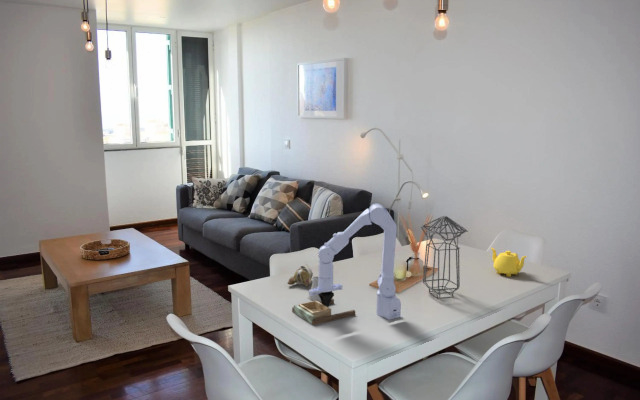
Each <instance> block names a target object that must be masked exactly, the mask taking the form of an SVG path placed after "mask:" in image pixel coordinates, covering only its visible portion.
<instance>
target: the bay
mask: <svg viewBox="0 0 640 400" xmlns="http://www.w3.org/2000/svg"><path fill="white" fill-rule="evenodd" d="M318 302H320V303H321V304H322V302H321V300H320V301H318ZM333 304H335V299H334V298H332V300H331V302H330V304H329V305H333ZM291 311H292V313H294V314H295V315H296V316H299V317H300V318H302V319H303V320H305V321H307V322H308V323H309V324H311V325H312V326H316V325H320V324H321V325H322V324H325V323H328V322H332V321H337V320H341V319H345V318H349V317H353V316H356V310H355V309H350V310H348V311H342V312H339V313H335V314H331V315H330V316H326V317H321V318H317V319H315V316H314V315H312V314H311V313H309V312H307V311H306V310H304V309H303V308H301V307H299V304H294V305H293V306H292V309H291Z"/></svg>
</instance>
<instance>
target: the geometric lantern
mask: <svg viewBox="0 0 640 400" xmlns="http://www.w3.org/2000/svg"><path fill="white" fill-rule="evenodd" d="M431 223H433V224H432V225H429V224H431ZM447 226H448V229H449V230H450V232H448V229H447ZM420 228H421V230H422V232H423V233H424V235H425V236H426V241H428V240H429V239H428V238H430V240H429V241H428V243H426V246H425V252H424V253H425V255H424V265H423V277H422V283H423V285H425V286H426V287H427V288H428V293H429V294H430V295H432V296H433V297H434V298H436V299H446V298H448V299H449V298H454V293H455V292H456V291H458V290H459V289H460V282H461V281H460V246H459V237H461V236H462V235H463V234H465V233H468V232H469V230H468V229H466V228H465V227H463V226H461V225H460V224H459V223H457V222H456V221H455V220H453V219H452V218H450V217H448V216H447V215H441V216H440V217H438V218H435V219H434V220H431V221H430V222H426V223H425V224H422V225H421V226H420ZM425 230H426V231H425ZM438 230H439V231H438ZM444 230H445V231H444ZM455 230H456V231H455ZM442 231H443V232H442ZM431 233H432V234H431ZM435 234H437V235H439V236H440V237H441V239H442V240H443V242H435V243H434V240H433V237H434V235H435ZM442 234H444V235H446V237H445V236H444V235H442ZM450 234H452V235H453V236H452V238H449V237H448V236H449V235H450ZM455 239H456V240H457V242H456V240H455ZM448 241H450V242H448ZM452 242H454V244H452ZM439 244H440V246H439V247H438V248H437V247H436V246H435V245H439ZM443 244H445V245H444V247H445V248H444V249H443V248H442V249H441V251H444V259H443V269H442V270H443V273H442V278H440V248H441V247H443ZM431 245H432V246H431ZM447 245H448V248H447ZM451 246H453V247H455V248H451ZM430 248H431V249H433V250H434V251H433V263H432V265H433V266H432V267H433V268H432V278H431V279H427V273H428V264H429V263H428V262H429V255H430ZM436 251H437V252H436ZM447 251H448V279H447V278H445V271H446V269H445V268H446V260H447V259H446V258H447ZM451 251H455V262H456V263H455V268H456V283H455V282H454V281H452V280H451V279H450V278H451ZM436 253H437V278H436V279H435V266H436ZM434 281H435V282H436V281H437V286H434ZM440 281H442V285H440ZM444 281H447V282H446V284H445V283H444ZM428 282H431V286H430V285H429V284H428ZM449 282H450V283H452V284H453V285H455V286H456V287H447V286H448V284H449ZM444 284H445V285H444ZM447 290H449V291H447ZM432 292H433V293H436V295H435V294H433V293H432ZM442 294H443V295H444V294H449V296H443V297H441V295H442Z"/></svg>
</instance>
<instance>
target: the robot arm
mask: <svg viewBox="0 0 640 400" xmlns="http://www.w3.org/2000/svg"><path fill="white" fill-rule="evenodd" d="M373 223H374V224H376V225H378V226H379V227H380V228H381V229H382V230H383V239H382V241H383V242H382V254H381V255H382V256H381V267H380V268H381V269H380V272H379V276H378V278H377V280H376V282H377V286H378V290H377V291H376V308H375V309H376V311H375V313H376V315H377V316H379V317H382V318H384V319H387V320H388V321H389V320H392V319H397V318H403V315H401V314H402V313H401V312H402V311H401V310H402V309H401V308H402V302H401V300H400V299H399V298H398V297H397V295H396V290H397V288H396V287H397V286H396V284H395V282H394V281H395V274H394V272H395V271H394V270H395V257H396V254H395V252H396V244H397V243H396V241H397V229H398V226H397V224H396V222H395V221H394V219H393V217H392V216H391V214H390V213H389V211H388V209H387V208H386V207H384V205H382V204H381V203H372V204H371V205H370V206H369V208H366V209H365V210H363V211H362V213H361V214H360V215H358V216H357V218H356V219H354V221H353V222H352V223H350V225H349V226H348V227H347V228H346V229H344V231H338V232H337V233H336V232H335V233H333V234H332V237H331V238H330V239H329V240H328V241H327V242H324V244H323V245H321V246H320V247H319V250H318V251H317V254H318V259H319V260H318V276H317V277H319V278H318V287H316V288H314V289H311V288H310V289H309V290H308V296H309V295H310V296H313V295H316V294H318V295H319V297H320V299H321V300H320V301H321V302H322V304H323V305H325V306H327V307H328V308H330V305H331V304H330V302H331V300H332V299H334V296H335V293H334V291H339V290H340V291H342V290H343V284H341V283H336V284H335V283H334V264H333V261H334V257H335V255H337V254H338V253H339V252H341V251H342V250H343V249H344V248H345V247H346V246H347V245H348V244H349V242H350V238H351V237H352V236H353V235H354V234H356V233H357V232H358V231H359V230H360V229H362V227H364V226H369V225H370V226H371V225H372V224H373Z"/></svg>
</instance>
